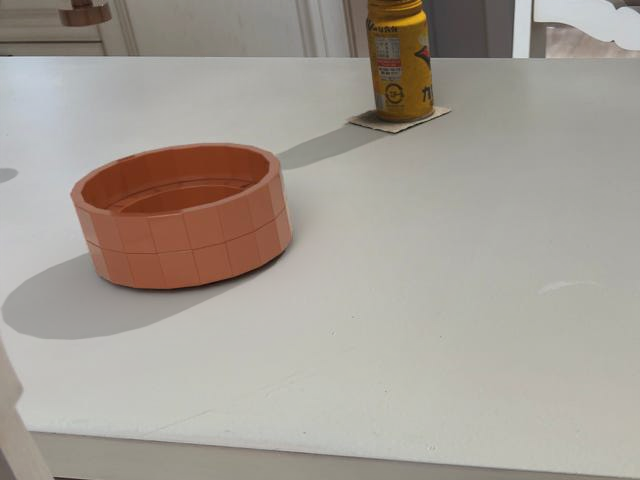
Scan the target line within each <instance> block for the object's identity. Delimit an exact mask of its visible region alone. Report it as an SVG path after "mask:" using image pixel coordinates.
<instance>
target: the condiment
mask: <svg viewBox="0 0 640 480" xmlns="http://www.w3.org/2000/svg"><path fill="white" fill-rule="evenodd" d="M366 8H367V11H368V12H367V15H366V18H365V29H366V31H365V32H366V38H367V47H368V56H369V63H370V72H371V80H372V89H373V96H374V104H375V108H374V109H369V110H367V111H365V112H362V113H361V114H357V115H353V116H349V117H348V118H345V119H344V121H348V122H350V123H351V124H356V125H360V126H362V127H366V128H371V129H372V130H381V131H384V132H389V133H390V132H391V133H394V134H395V133H398V132H400V131H401V130H405V129H407V128H409V127H412V126H415V125H416V124H420V123H423V122H427V121H429V120H431V119H435V118H436V117H439V116H442V115H444V114H447V113H449V112H451V111H452V108H449V107H443V106H436V105H435V102H434V100H435V99H434V89H433V88H434V87H433V74H432V65H431V54H430V42H429V26H428V21H427V20H428V19H427V15H426V13H425V11H424V10H423V2H422V0H367V3H366Z"/></svg>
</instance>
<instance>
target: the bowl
mask: <svg viewBox="0 0 640 480" xmlns="http://www.w3.org/2000/svg"><path fill="white" fill-rule="evenodd" d="M69 196H70V199H71V203H72V206H73V208H74V212H75V215H76V218H77V221H78V224H79V227H80V230H81V233H82V237H83V239H84V242H85V246H86V249H87V251H88V255H89V257H90V261H91V264H92V266H93V269H94V270H95V273H96V275H97V276H100V277H102V278H103V279H104V280H106V281H108V282H110V283H112V284H115V285H119V286H125V287H128V288H129V287H130V288H134V289H154V290H155V289H158V290H159V289H160V290H161V289H162V290H170V289H171V290H172V289H179V288H188V287H197V286H202V285H206V284H210V283H214V282H215V283H216V282H218V281H224V280H227V279H231V278H235V277H237V276H240V275H243V274H245V273H248V272H250V271H253V270H255V269H258V268H260V267H262V266H263V265H265V264H267V263H268V262H270V261H271V260H273V259H274V258H277V256H279V255H281V254H282V253H283V252H284V251H285V249H286V248H287V247H288V245H289V244H290V243H291V242H292V240H293V230H294V229H293V223H292V218H291V212H290V208H289V207H290V206H289V202H288V201H289V200H288V197H287V191H286V186H285V180H284V174H283V169H282V164H281V160H280V159H279V158H278V157H277V156H276V155H275V154H273V152H271V151H269V150H266V149H264V148H260V147H258V146H254V145H250V144H242V143H236V142H198V143H188V144H179V145H169V146H164V147H160V148H155V149H150V150H145V151H141V152H138V153H134V154H131V155H127V156H125V157H122V158H118V159H115V160H112V161H110V162H107V163H106V164H103V165H102V166H98V167H97V168H94V169H93V170H91V171H90V172H88V173H87V174H86V175H84V176H83V177H81V178H80V179H79V180H78V181H76V182H75V183H74V185H73V187H72V189H71V191H70V193H69Z"/></svg>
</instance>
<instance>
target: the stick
mask: <svg viewBox="0 0 640 480" xmlns="http://www.w3.org/2000/svg"><path fill="white" fill-rule="evenodd" d="M55 10H56V14H57V18H58V21H59V25H60V26H62V27H66V28H81V27H82V28H84V27H91V26H97V25H101V24H105V23H108V22H109V21H111V20H113V13H112V12H113V11H112V8H111V5H110V1H109V0H69V1H66V2H62V3H60V4H58V5H57V6H55Z"/></svg>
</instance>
